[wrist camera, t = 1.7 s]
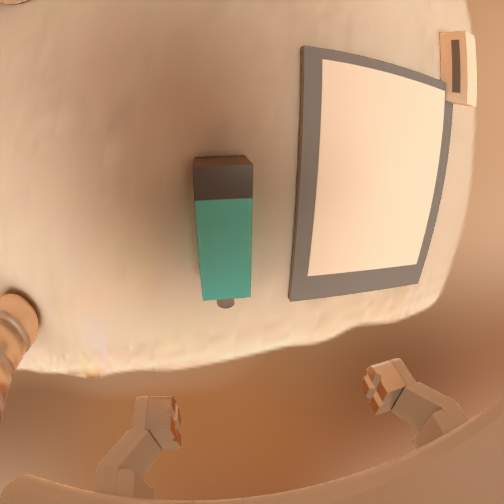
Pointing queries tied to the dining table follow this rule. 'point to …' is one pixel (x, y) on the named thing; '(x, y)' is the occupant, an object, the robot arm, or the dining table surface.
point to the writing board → (365, 174)
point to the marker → (224, 226)
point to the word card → (459, 67)
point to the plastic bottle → (14, 338)
